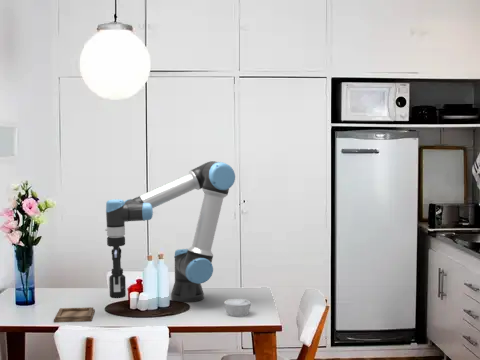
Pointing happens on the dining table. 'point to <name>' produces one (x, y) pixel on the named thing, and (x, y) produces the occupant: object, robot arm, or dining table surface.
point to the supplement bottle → (122, 285)
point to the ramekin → (237, 307)
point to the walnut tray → (74, 314)
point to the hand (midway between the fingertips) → (117, 289)
